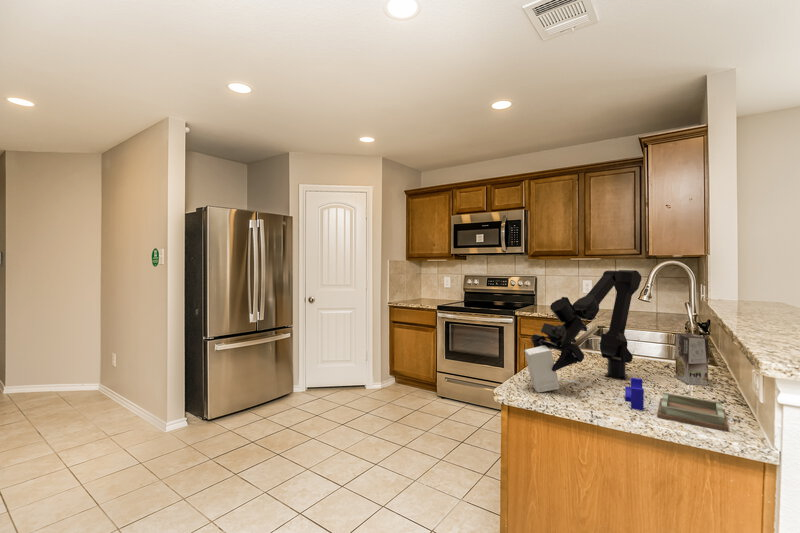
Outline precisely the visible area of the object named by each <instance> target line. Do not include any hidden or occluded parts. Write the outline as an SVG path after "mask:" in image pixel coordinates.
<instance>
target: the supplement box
mask: <svg viewBox="0 0 800 533" xmlns="http://www.w3.org/2000/svg"><path fill="white" fill-rule="evenodd" d="M523 351H524V355H525V360H526V364H527V367H528V371H529V372H528V373H529V376H530V377H529V378H530V381H531V386H532V388H534V390H535V392H537V393H543V392H548V391H549V392H550V391H555V390H559V389H560V388H561V387H560V383H559V379H558V374H557V370H556V371H552V367H553V366H554V364H555V361H554V357H553V352H552V349H551V348H550V349H549V348H548V347H547V346H540V347H535V348H534V347H532V348H531V347H530V348H528V349H527V348H526V349H524V350H523Z"/></svg>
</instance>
